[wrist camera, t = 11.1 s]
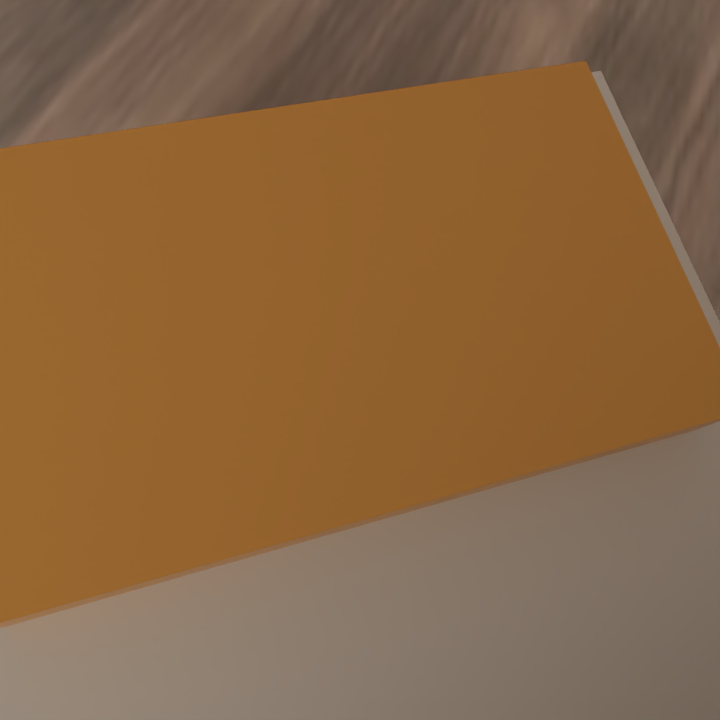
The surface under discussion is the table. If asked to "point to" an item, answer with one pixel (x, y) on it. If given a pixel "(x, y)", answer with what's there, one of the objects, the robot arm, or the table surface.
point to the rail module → (357, 417)
